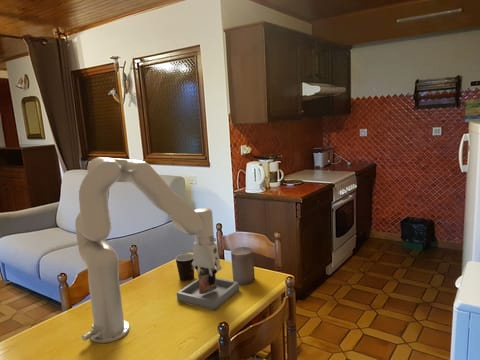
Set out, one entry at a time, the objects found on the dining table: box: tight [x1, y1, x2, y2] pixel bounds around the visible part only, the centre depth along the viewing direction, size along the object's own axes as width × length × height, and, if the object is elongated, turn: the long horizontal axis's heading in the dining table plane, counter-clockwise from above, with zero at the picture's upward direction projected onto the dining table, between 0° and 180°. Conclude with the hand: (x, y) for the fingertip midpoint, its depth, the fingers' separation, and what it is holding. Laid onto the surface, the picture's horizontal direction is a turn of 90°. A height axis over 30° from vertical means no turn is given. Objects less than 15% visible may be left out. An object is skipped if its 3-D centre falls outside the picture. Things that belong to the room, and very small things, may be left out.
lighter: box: [197, 268, 217, 294], centre depth 145 cm, size 8×3×10 cm, turn 131°
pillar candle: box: [230, 246, 256, 286], centre depth 158 cm, size 10×10×15 cm
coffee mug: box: [175, 253, 195, 282], centre depth 162 cm, size 12×9×10 cm
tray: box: [176, 277, 240, 312], centre depth 146 cm, size 18×18×4 cm
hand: (207, 282), depth 146 cm, fingers closed on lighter, 4 cm apart
